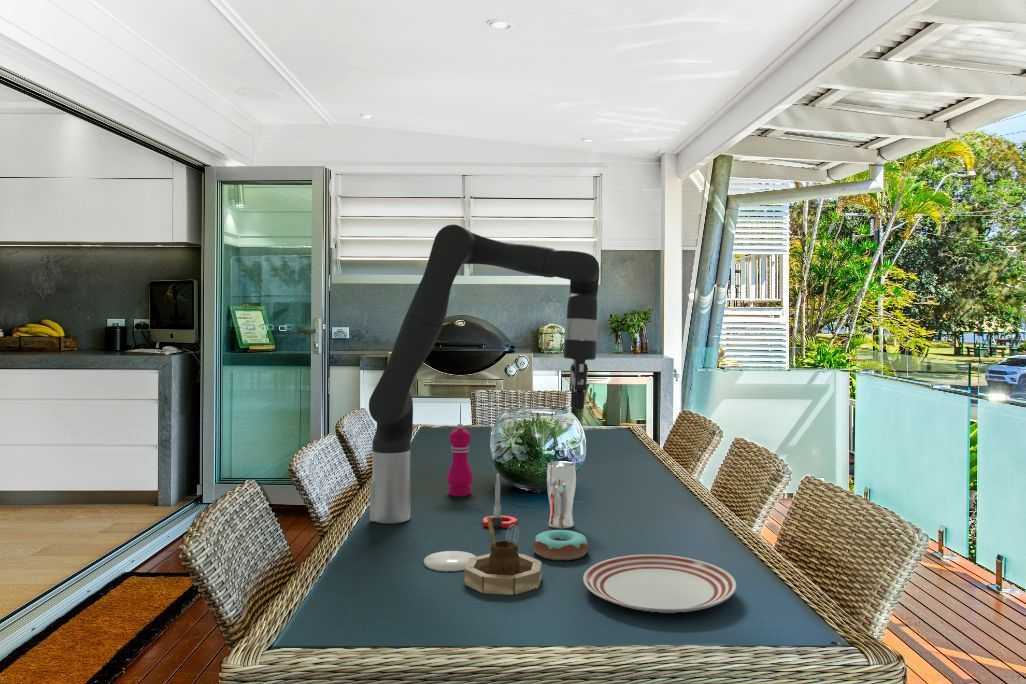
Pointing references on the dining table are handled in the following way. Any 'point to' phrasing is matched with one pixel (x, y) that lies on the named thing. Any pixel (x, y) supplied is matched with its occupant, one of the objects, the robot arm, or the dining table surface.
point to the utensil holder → (503, 555)
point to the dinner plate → (660, 583)
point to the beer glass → (561, 493)
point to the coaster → (448, 560)
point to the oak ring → (502, 576)
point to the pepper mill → (460, 463)
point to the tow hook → (499, 511)
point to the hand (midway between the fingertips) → (576, 408)
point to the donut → (560, 545)
